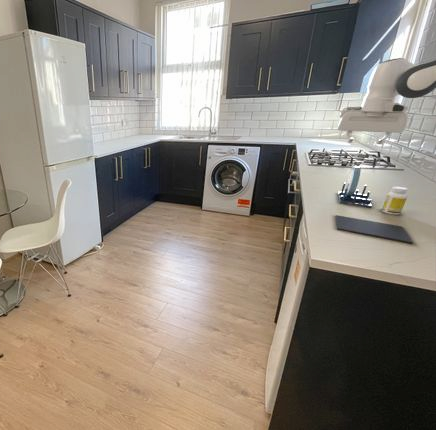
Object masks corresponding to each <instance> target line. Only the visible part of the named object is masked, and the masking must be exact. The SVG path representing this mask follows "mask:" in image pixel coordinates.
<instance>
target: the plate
mask: <svg viewBox="0 0 436 430" xmlns="http://www.w3.org/2000/svg"><path fill="white" fill-rule="evenodd" d="M361 172H362V169H361V166H360V165H359V166H358V165H353V166H352V167H351V169H350V172H349V173H348V176H347V179H346V180H347V181H346V184H345V187H344V190H345V189H346V188H347V192H346V195H345V196H349V197H352V196H353V195H354V193H356V190H357V187H358V184H359V181H360V177H361Z"/></svg>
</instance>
